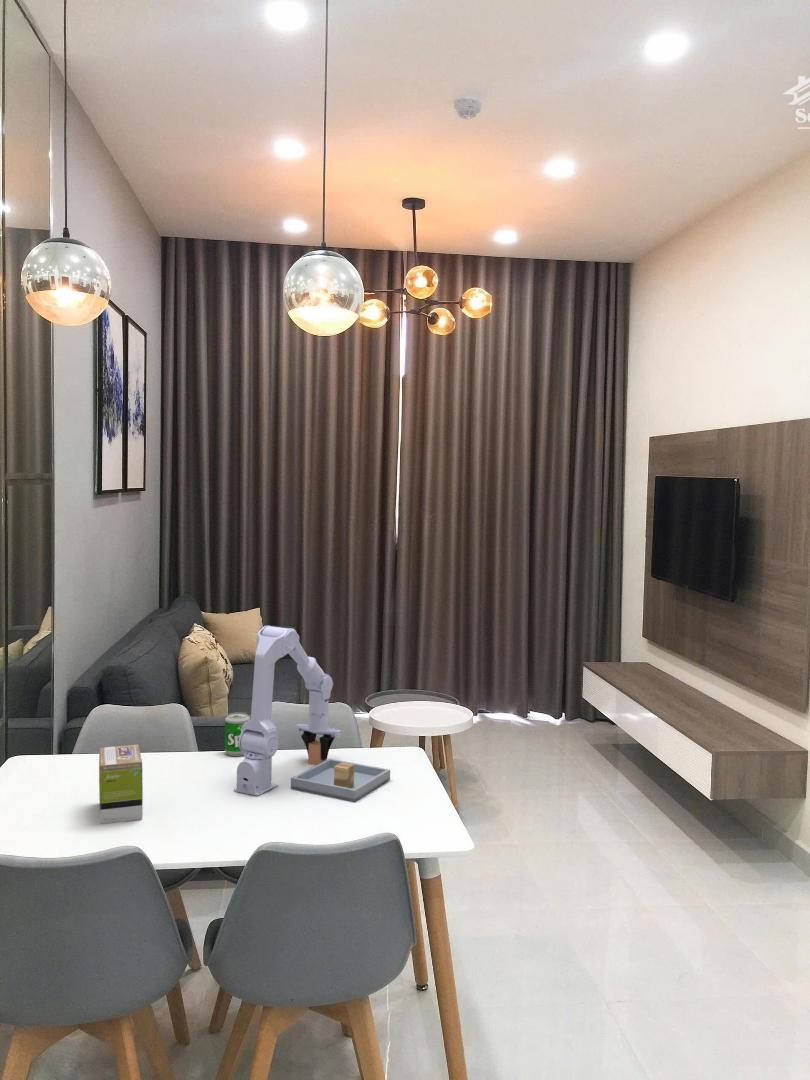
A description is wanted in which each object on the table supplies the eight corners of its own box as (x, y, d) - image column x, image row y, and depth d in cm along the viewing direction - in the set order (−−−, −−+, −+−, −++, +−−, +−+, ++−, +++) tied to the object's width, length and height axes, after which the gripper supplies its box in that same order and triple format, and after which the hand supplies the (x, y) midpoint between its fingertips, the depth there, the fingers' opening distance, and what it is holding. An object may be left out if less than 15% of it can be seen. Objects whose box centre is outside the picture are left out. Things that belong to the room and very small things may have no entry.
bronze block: (346, 790, 225) (347, 768, 225) (333, 788, 227) (334, 766, 227) (353, 786, 229) (354, 764, 229) (341, 784, 231) (341, 762, 230)
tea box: (98, 803, 214) (98, 746, 214) (139, 799, 218) (140, 743, 217) (99, 825, 200) (99, 763, 200) (143, 820, 204) (143, 760, 203)
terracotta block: (319, 765, 249) (320, 745, 249) (308, 763, 251) (308, 743, 250) (326, 761, 252) (327, 742, 252) (315, 759, 254) (316, 740, 254)
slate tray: (354, 802, 219) (354, 790, 219) (290, 788, 228) (290, 777, 228) (390, 780, 237) (390, 769, 237) (329, 768, 246) (329, 758, 246)
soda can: (220, 755, 256) (220, 716, 256) (232, 748, 263) (232, 710, 263) (242, 758, 254) (243, 719, 253) (253, 751, 261) (254, 713, 261)
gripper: (346, 713, 251) (345, 758, 252) (305, 707, 258) (304, 750, 258) (334, 718, 245) (333, 764, 246) (292, 711, 251) (291, 756, 252)
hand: (317, 757), depth 251 cm, fingers closed on terracotta block, 4 cm apart
